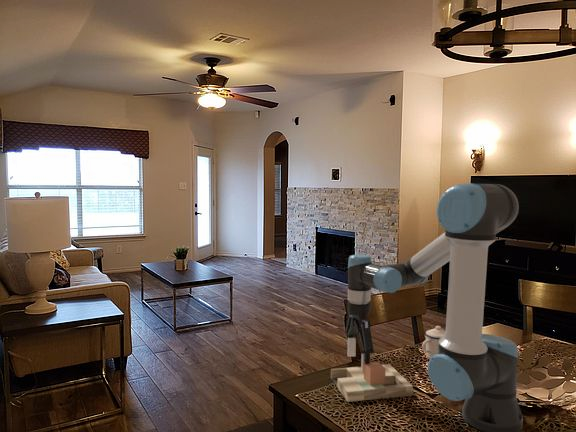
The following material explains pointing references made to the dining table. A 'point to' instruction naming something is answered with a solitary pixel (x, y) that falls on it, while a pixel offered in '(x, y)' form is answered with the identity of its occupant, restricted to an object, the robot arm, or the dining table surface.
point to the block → (374, 373)
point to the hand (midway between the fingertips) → (358, 364)
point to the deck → (359, 389)
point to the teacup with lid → (432, 341)
